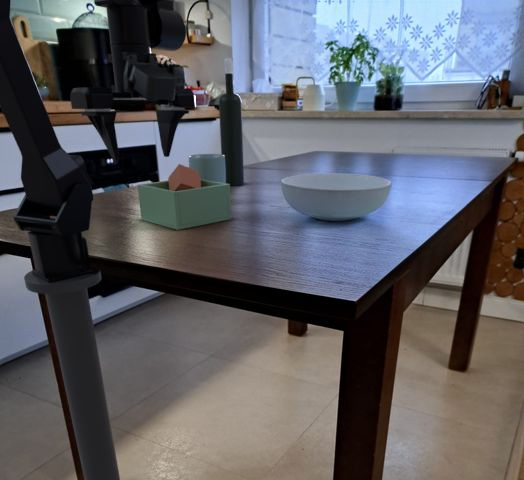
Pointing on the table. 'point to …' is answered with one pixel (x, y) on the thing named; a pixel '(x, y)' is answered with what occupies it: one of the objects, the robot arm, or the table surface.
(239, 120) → the wine bottle
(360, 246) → the table surface
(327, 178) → the serving bowl
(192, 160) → the cup
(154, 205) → the green storage bin
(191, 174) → the terracotta block
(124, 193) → the table surface
